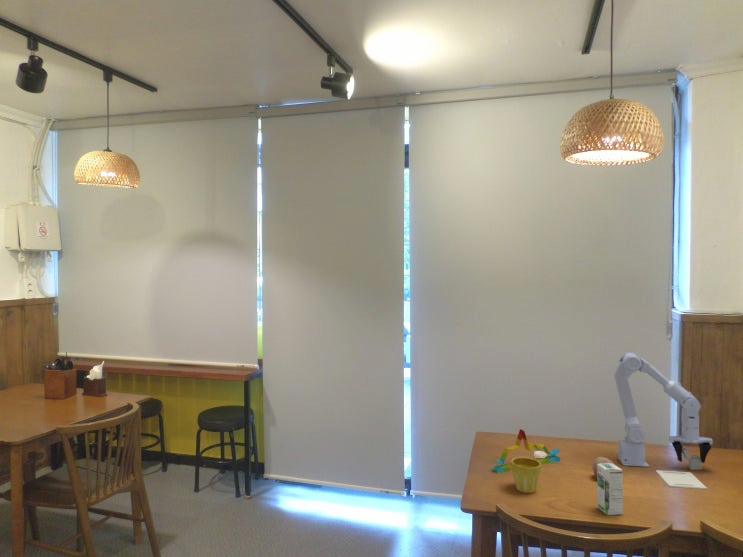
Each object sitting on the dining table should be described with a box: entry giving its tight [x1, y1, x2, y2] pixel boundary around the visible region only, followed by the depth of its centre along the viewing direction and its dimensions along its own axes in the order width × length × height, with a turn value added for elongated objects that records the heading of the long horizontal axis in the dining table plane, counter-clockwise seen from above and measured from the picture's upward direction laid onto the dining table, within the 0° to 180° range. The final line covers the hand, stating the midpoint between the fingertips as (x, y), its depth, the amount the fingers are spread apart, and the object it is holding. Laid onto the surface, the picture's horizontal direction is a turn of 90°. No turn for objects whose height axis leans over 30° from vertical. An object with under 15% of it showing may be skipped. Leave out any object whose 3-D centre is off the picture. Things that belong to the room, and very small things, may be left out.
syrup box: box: [596, 463, 624, 516], centre depth 158 cm, size 6×6×14 cm
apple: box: [592, 456, 615, 477], centre depth 183 cm, size 8×8×8 cm
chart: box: [493, 429, 561, 474], centre depth 198 cm, size 30×3×15 cm, turn 111°
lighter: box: [682, 447, 703, 471], centre depth 191 cm, size 7×2×8 cm, turn 90°
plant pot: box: [510, 456, 542, 494], centre depth 176 cm, size 10×10×10 cm
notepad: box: [655, 469, 708, 490], centre depth 181 cm, size 12×14×1 cm
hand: (691, 461), depth 191 cm, fingers open, 7 cm apart
